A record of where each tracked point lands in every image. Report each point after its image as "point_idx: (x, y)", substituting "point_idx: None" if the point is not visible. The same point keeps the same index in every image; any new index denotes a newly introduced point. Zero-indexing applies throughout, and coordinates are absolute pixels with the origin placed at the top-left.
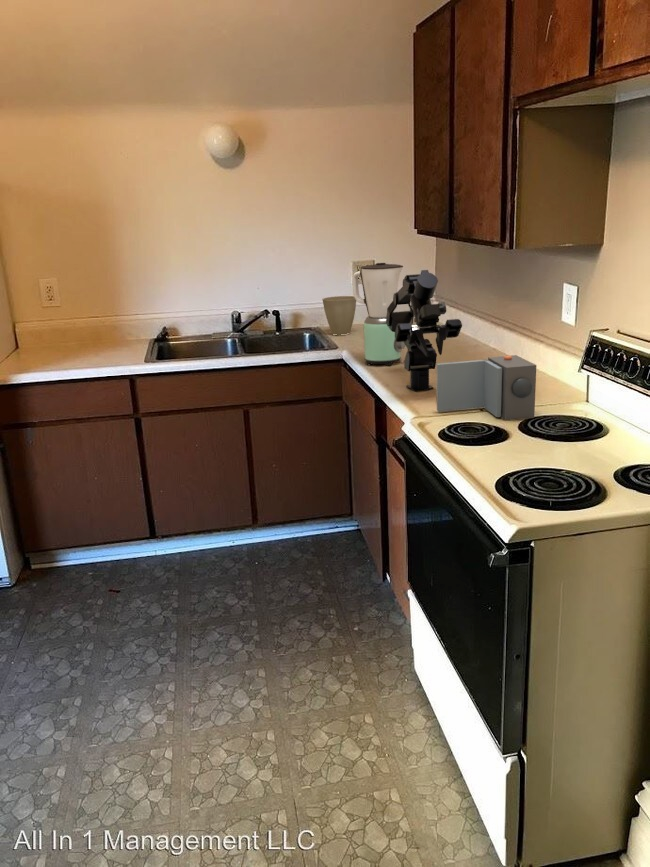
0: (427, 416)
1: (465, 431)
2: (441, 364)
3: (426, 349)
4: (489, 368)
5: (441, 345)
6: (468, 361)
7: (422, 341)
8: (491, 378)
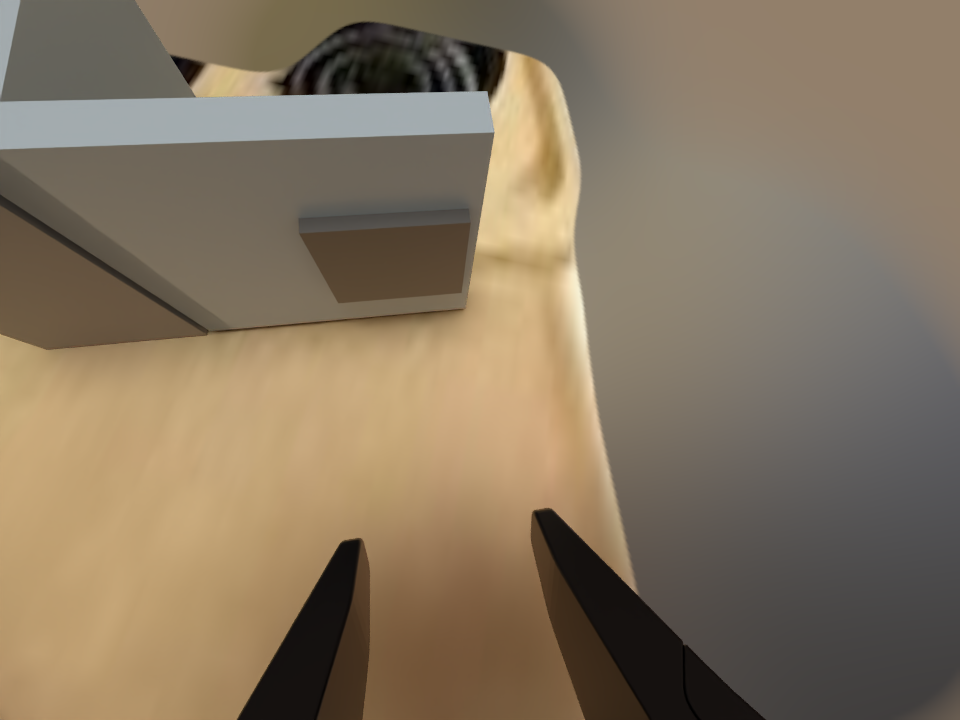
0: (513, 261)
1: (405, 74)
2: (456, 95)
3: (572, 556)
4: (60, 37)
5: (299, 651)
6: (170, 125)
7: (700, 697)
8: (119, 70)
